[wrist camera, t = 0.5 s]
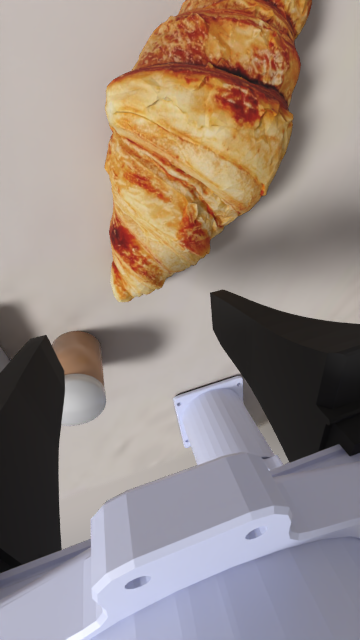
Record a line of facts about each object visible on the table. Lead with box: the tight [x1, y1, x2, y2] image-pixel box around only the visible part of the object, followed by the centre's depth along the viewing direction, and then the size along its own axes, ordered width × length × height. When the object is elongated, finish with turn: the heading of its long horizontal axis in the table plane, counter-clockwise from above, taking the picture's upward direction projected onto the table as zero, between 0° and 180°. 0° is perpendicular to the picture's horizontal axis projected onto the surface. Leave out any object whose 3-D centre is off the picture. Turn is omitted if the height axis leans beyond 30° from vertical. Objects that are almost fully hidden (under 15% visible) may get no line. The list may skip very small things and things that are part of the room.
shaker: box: [52, 331, 106, 426], centre depth 21 cm, size 4×4×6 cm
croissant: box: [105, 0, 312, 302], centre depth 16 cm, size 21×10×8 cm, turn 151°
